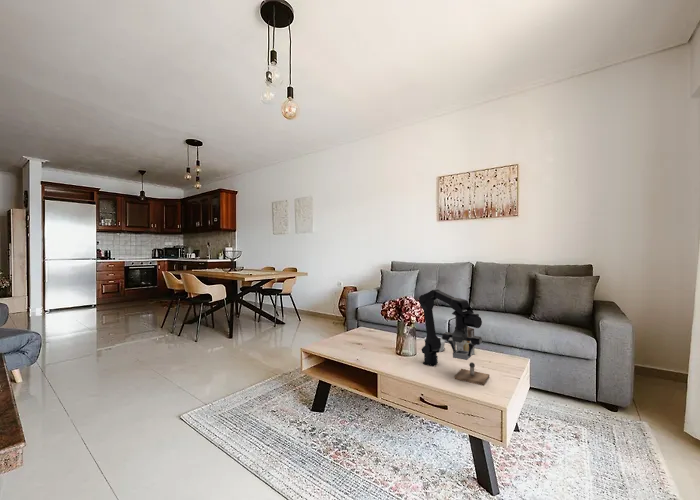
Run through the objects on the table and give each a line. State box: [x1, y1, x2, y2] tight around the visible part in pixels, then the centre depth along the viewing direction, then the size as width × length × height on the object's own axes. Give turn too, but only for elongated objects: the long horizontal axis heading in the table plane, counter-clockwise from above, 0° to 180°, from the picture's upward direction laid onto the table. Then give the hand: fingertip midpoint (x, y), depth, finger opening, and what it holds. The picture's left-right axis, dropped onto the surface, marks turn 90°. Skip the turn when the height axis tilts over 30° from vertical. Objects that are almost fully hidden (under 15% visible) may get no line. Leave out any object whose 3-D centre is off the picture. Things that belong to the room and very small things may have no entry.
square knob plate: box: [454, 362, 490, 386], centre depth 162 cm, size 14×12×8 cm
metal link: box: [452, 350, 472, 361], centre depth 163 cm, size 7×7×2 cm
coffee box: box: [456, 326, 476, 356], centre depth 199 cm, size 9×6×16 cm
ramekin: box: [423, 336, 446, 353], centre depth 208 cm, size 13×13×7 cm
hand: (462, 355), depth 163 cm, fingers closed on metal link, 7 cm apart
